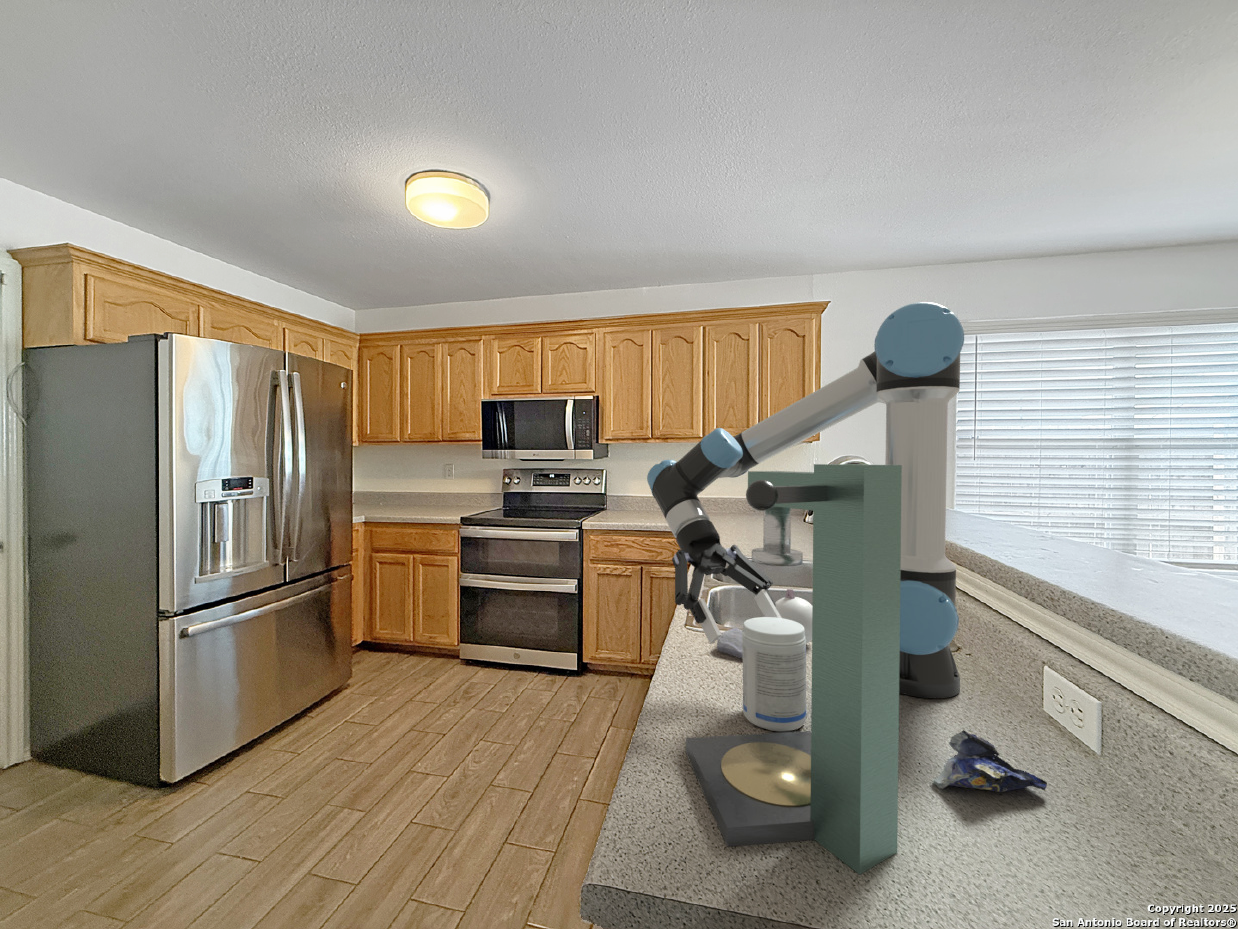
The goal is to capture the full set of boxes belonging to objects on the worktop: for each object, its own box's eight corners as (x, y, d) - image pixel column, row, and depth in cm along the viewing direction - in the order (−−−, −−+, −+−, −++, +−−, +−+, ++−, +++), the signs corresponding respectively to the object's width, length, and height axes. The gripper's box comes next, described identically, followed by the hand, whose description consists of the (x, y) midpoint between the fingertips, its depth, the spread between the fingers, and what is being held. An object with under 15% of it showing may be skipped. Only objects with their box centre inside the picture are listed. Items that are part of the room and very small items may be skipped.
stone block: (769, 674, 105) (782, 649, 113) (766, 652, 104) (780, 628, 113) (712, 664, 111) (728, 641, 120) (710, 643, 111) (726, 621, 119)
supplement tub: (819, 723, 82) (820, 628, 82) (777, 741, 77) (778, 639, 77) (769, 699, 90) (770, 612, 90) (729, 714, 85) (729, 621, 85)
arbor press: (809, 745, 76) (812, 463, 75) (921, 871, 53) (926, 465, 52) (685, 752, 74) (687, 462, 73) (744, 887, 50) (748, 464, 50)
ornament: (760, 643, 117) (760, 589, 117) (783, 633, 124) (783, 581, 124) (804, 656, 110) (804, 598, 110) (826, 644, 117) (826, 589, 117)
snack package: (912, 752, 75) (940, 803, 63) (921, 706, 75) (951, 749, 63) (1012, 780, 72) (1061, 840, 60) (1022, 733, 71) (1073, 783, 60)
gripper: (734, 537, 108) (790, 632, 96) (628, 546, 96) (676, 657, 83) (753, 514, 104) (814, 610, 91) (644, 520, 92) (697, 633, 79)
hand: (748, 633), depth 87 cm, fingers open, 13 cm apart
